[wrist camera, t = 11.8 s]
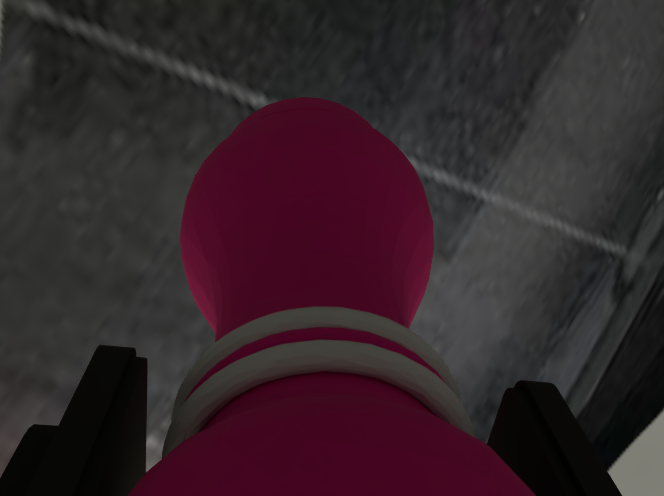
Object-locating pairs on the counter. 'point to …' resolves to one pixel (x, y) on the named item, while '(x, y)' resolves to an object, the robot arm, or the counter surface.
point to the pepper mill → (315, 324)
